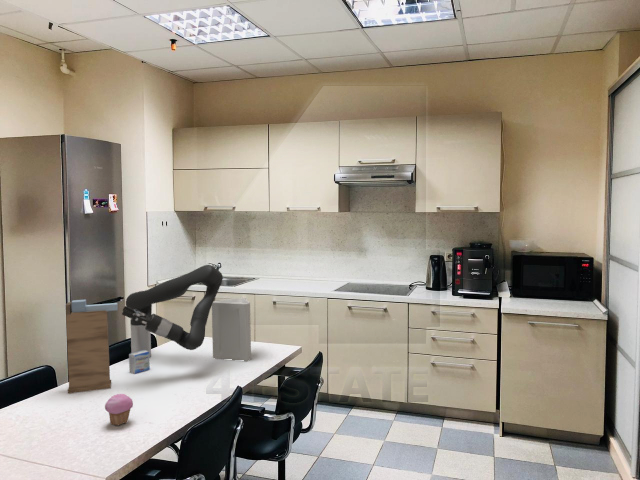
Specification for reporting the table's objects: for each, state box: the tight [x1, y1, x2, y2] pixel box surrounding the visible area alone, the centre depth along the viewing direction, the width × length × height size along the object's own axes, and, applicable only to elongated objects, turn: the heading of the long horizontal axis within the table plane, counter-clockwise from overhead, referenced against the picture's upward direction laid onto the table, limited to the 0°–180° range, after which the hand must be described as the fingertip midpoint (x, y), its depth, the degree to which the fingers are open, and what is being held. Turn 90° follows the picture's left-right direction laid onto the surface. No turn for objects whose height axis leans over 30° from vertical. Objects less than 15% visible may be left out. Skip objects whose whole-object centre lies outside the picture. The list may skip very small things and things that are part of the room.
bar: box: [71, 299, 119, 313], centre depth 206 cm, size 5×17×5 cm, turn 110°
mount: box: [65, 301, 112, 395], centre depth 206 cm, size 7×16×36 cm, turn 110°
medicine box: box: [128, 350, 151, 375], centre depth 229 cm, size 8×4×9 cm, turn 143°
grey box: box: [211, 297, 252, 362], centre depth 250 cm, size 19×15×28 cm
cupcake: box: [104, 393, 134, 426], centre depth 172 cm, size 9×9×10 cm
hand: (123, 310), depth 210 cm, fingers open, 8 cm apart
